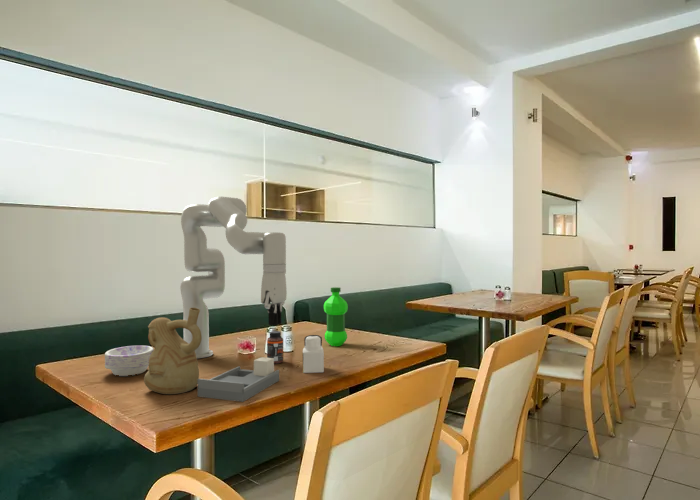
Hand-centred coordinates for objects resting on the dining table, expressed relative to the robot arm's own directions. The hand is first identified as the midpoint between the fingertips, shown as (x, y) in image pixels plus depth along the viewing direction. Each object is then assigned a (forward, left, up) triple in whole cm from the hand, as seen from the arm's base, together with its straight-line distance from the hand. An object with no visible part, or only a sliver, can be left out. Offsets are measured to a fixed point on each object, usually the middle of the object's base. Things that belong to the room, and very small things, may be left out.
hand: (275, 324), depth 154 cm
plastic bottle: (+3, +51, -17) cm, 54 cm away
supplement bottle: (-8, +16, -17) cm, 25 cm away
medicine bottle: (+10, +10, -17) cm, 22 cm away
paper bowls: (-49, -12, -17) cm, 54 cm away
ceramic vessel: (-22, -23, -17) cm, 36 cm away
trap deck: (-3, -16, -17) cm, 24 cm away
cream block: (0, -8, -15) cm, 16 cm away
